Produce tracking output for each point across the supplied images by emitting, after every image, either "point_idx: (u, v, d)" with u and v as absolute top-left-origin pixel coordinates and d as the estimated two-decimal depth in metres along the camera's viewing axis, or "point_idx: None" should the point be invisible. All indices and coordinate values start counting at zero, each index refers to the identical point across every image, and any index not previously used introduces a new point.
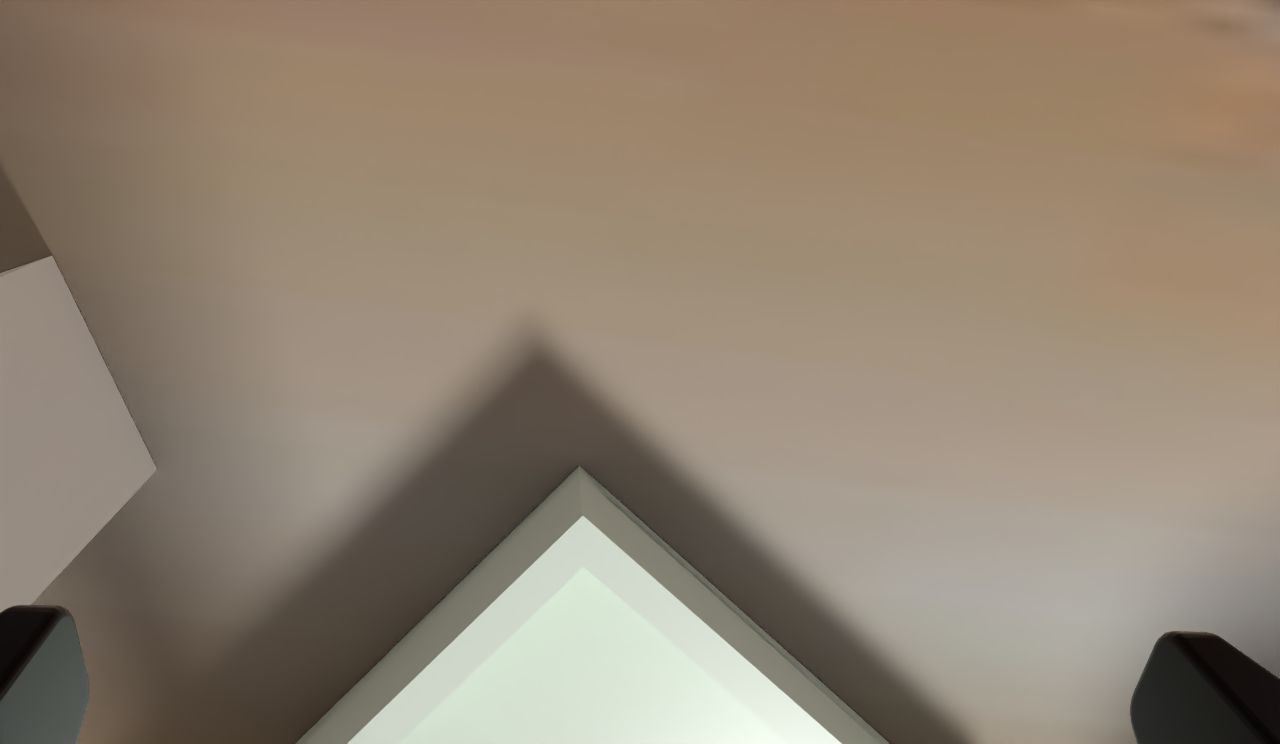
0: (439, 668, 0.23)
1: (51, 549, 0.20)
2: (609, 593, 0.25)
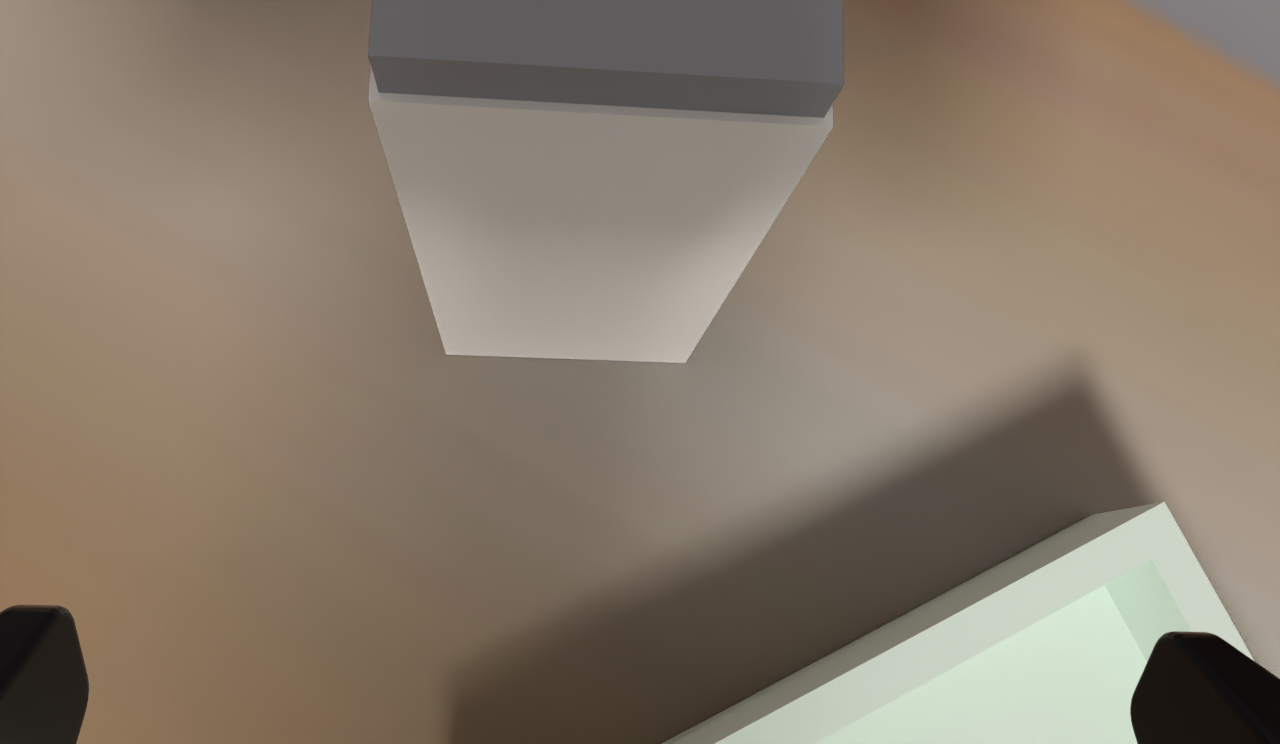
0: (970, 621, 0.20)
1: None
2: (1101, 659, 0.22)
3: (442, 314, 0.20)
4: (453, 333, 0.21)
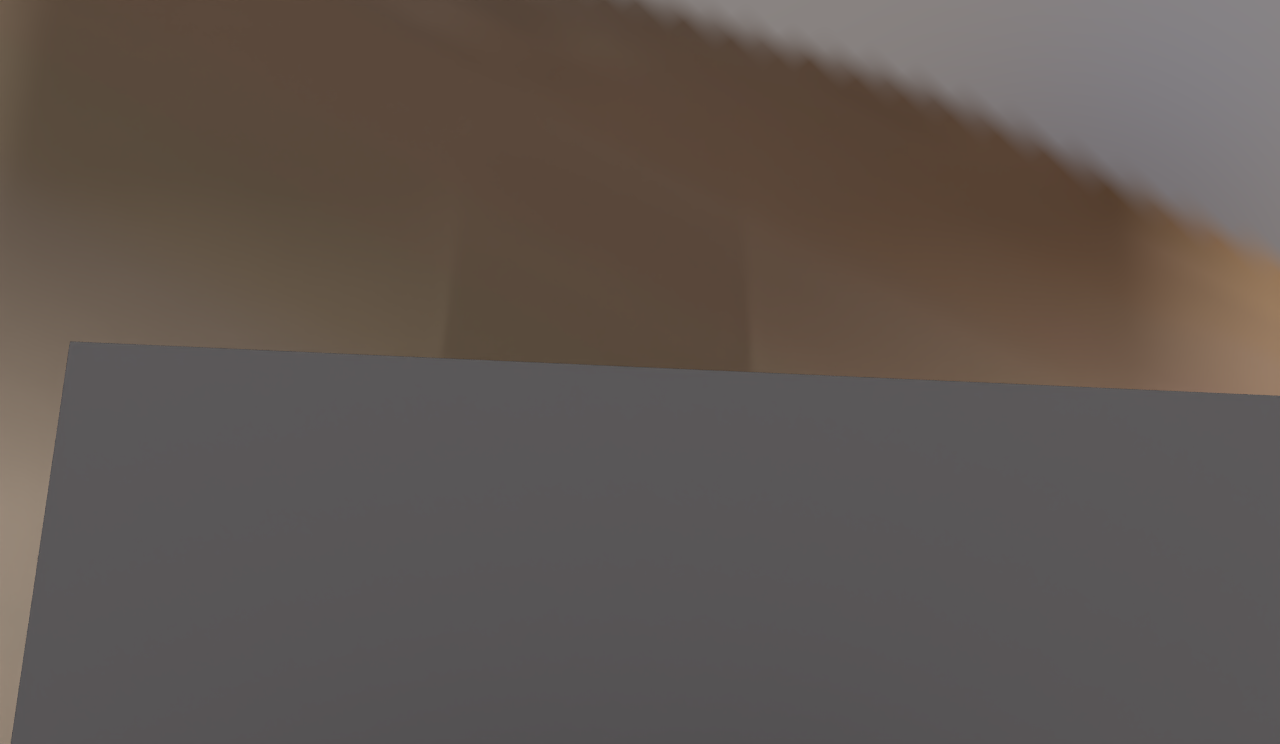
0: None
1: None
2: None
3: None
4: None
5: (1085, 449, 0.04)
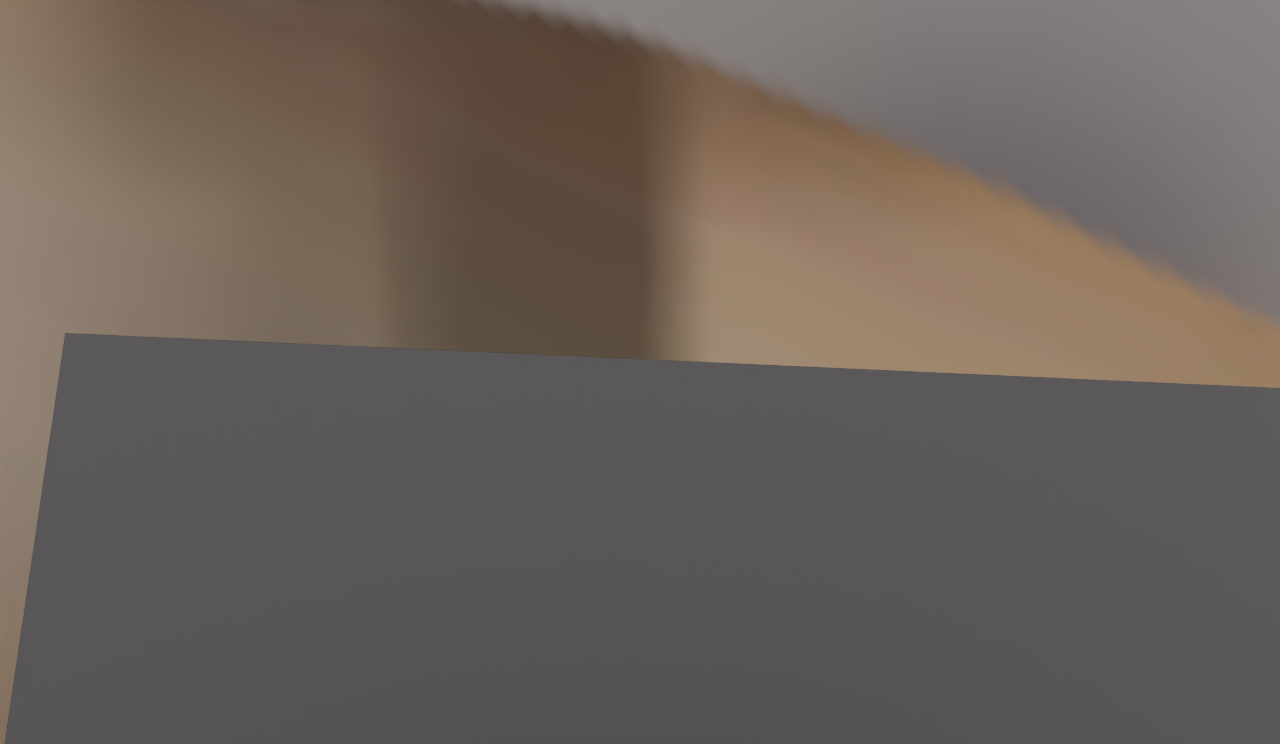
0: None
1: None
2: None
3: None
4: None
5: (1080, 440, 0.04)
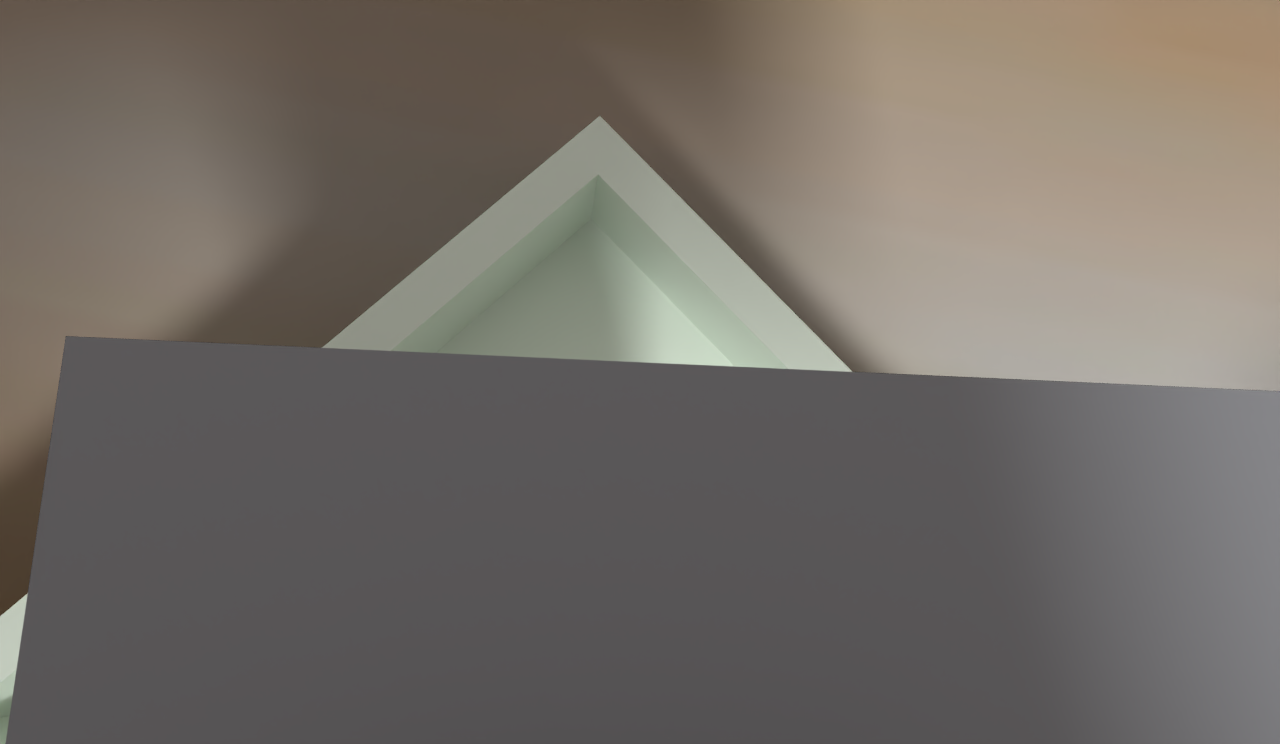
0: (418, 284, 0.19)
1: None
2: (620, 307, 0.22)
3: None
4: None
5: (1088, 445, 0.04)
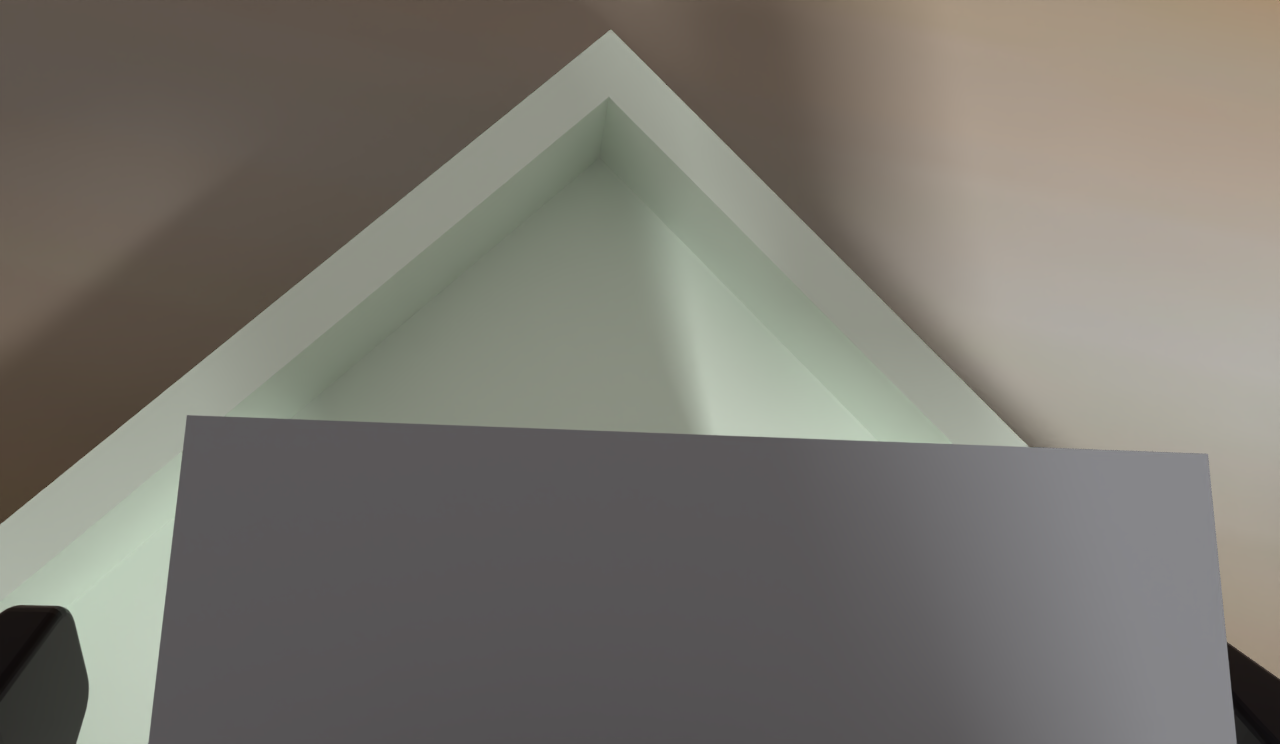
0: (395, 223, 0.16)
1: None
2: (633, 259, 0.19)
3: None
4: None
5: (921, 489, 0.05)
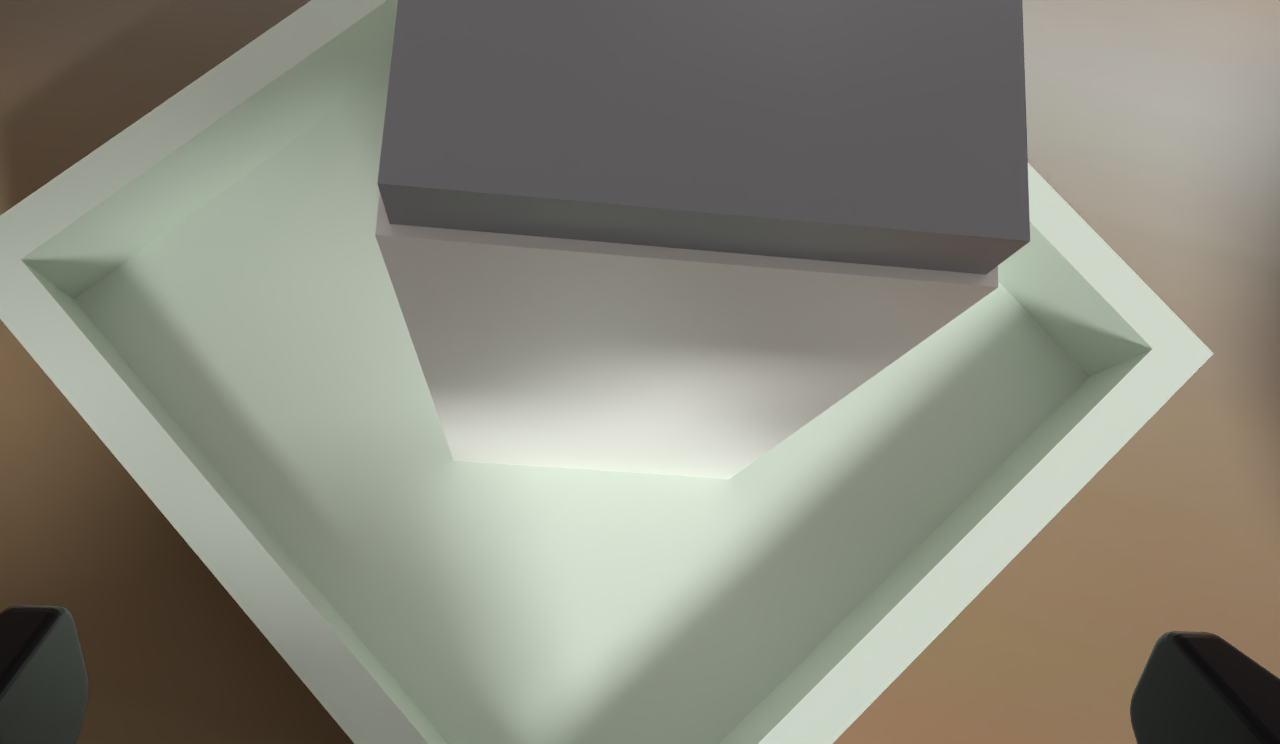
0: None
1: None
2: None
3: (453, 430, 0.17)
4: (464, 445, 0.18)
5: None
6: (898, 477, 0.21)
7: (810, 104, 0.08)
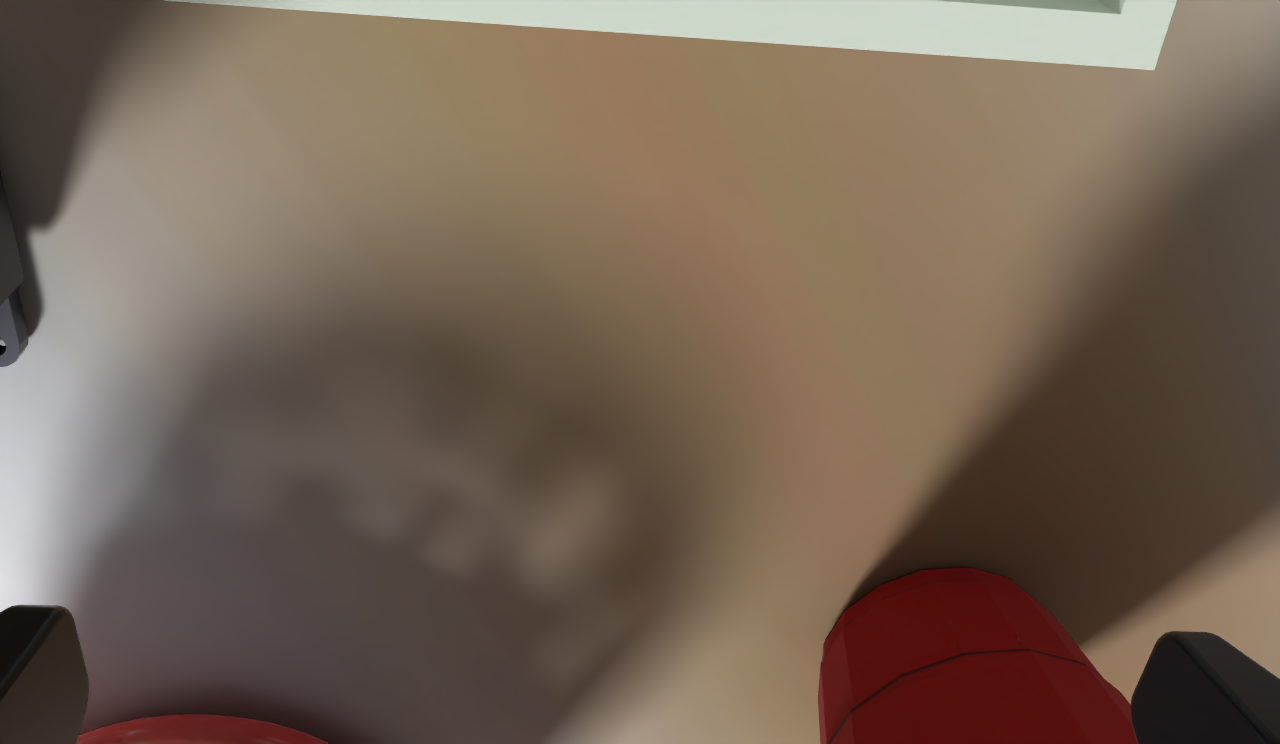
0: None
1: None
2: None
3: None
4: None
5: None
6: None
7: None
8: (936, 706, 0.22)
